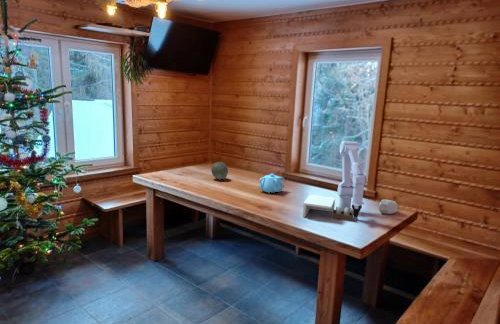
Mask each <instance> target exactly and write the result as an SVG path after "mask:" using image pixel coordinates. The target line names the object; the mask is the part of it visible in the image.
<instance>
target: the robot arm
mask: <svg viewBox="0 0 500 324" xmlns="http://www.w3.org/2000/svg"><path fill="white" fill-rule="evenodd" d="M358 150H359V143H358V142H357V141H356V140H355V141H347V140H346V141H344V140H341V142H340V145H339V154H340V156H341V160H342V161H341V166H342V168H341V169H342V170H341V171H342V172H341V173H342V174H341V175H342V180H341V182H339V183H338V185H337V186H338V187H337V191H336V193H337V195H338V196H339V203H338V207H342V210H341V211H344V208H350V212H353V218H356V219H357V218H359V213H360V212H361V210H362V208H363V205H365V202H363V199H364V189H365V185H366V184H367V179H368V178H367V175H366V174H365V172H364V171H363V168H362V165H361V163H359V159H358ZM351 171H352V177H351ZM351 178H352V181H351Z"/></svg>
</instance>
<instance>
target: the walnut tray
mask: <svg viewBox="0 0 500 324" xmlns="http://www.w3.org/2000/svg"><path fill="white" fill-rule="evenodd" d="M341 210H342V207H339V206H336V208H335V209H334V210H333V212H331V219H334V220H335V219H336V220H339V221H346V222H353V221H354V215H353V211H351V212H350V208H344V211H341Z"/></svg>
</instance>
